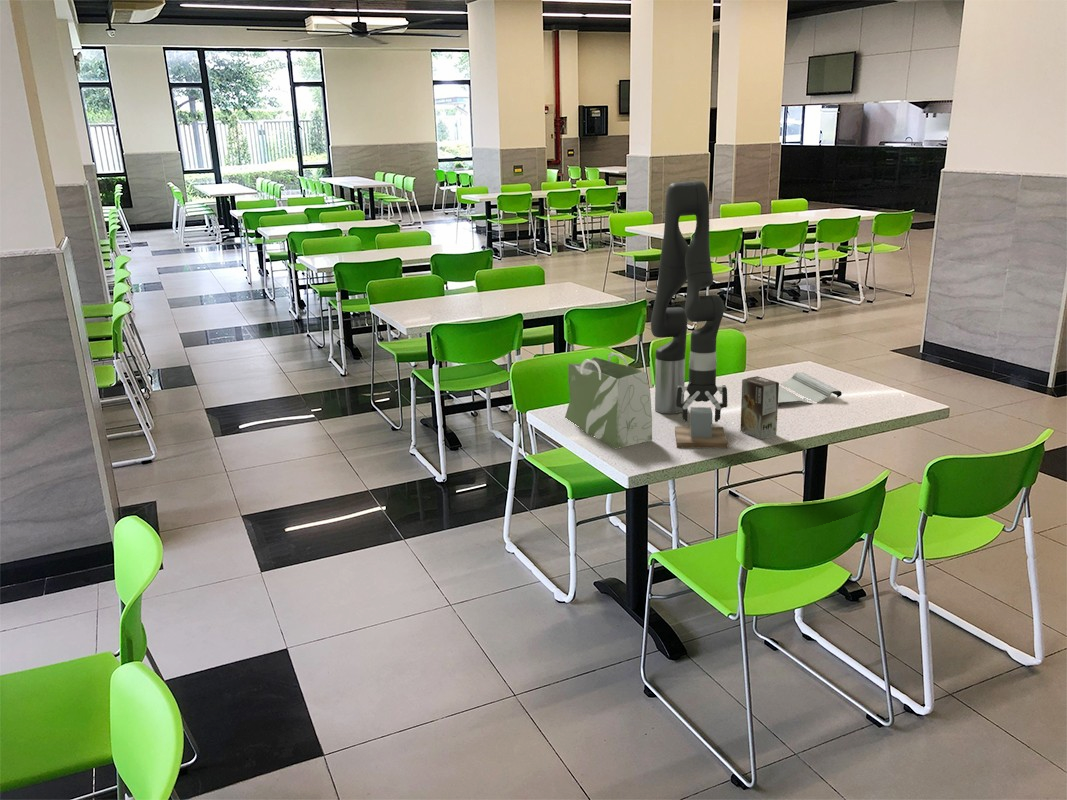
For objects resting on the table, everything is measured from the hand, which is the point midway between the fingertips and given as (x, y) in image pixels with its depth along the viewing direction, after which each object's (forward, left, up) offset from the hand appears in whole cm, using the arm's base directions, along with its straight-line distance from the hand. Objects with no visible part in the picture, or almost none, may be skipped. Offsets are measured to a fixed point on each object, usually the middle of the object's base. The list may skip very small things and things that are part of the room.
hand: (701, 421), depth 235 cm
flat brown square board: (0, 0, -6) cm, 6 cm away
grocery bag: (-8, -28, -6) cm, 29 cm away
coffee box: (-6, +17, -6) cm, 19 cm away
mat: (-46, +33, -6) cm, 57 cm away
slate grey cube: (0, 0, -4) cm, 4 cm away
